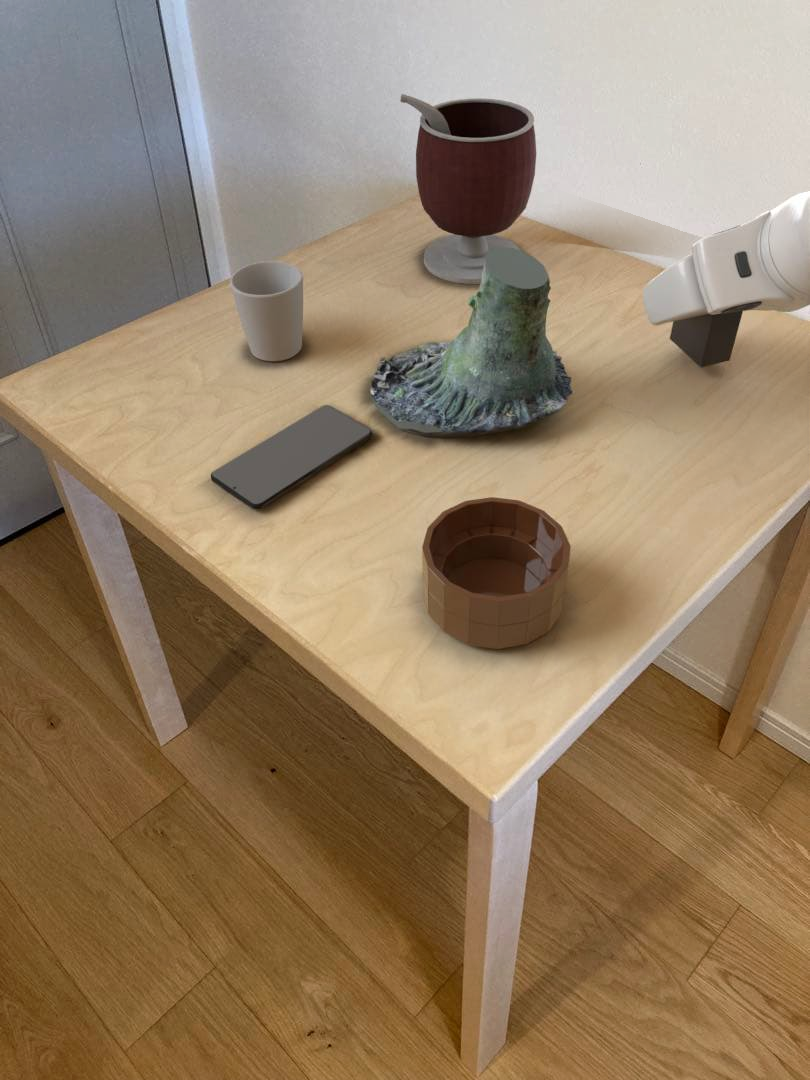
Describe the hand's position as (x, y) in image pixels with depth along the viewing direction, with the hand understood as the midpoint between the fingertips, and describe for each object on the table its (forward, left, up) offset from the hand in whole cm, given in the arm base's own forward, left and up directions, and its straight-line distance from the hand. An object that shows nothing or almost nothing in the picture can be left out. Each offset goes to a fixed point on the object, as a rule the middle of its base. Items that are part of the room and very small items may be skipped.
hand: (705, 305), depth 92 cm
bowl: (+30, +30, -6) cm, 42 cm away
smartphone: (+44, +9, -6) cm, 45 cm away
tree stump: (+25, +2, -6) cm, 26 cm away
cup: (+44, -12, -6) cm, 46 cm away
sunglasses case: (0, +1, -5) cm, 5 cm away
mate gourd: (+19, -26, -6) cm, 33 cm away
